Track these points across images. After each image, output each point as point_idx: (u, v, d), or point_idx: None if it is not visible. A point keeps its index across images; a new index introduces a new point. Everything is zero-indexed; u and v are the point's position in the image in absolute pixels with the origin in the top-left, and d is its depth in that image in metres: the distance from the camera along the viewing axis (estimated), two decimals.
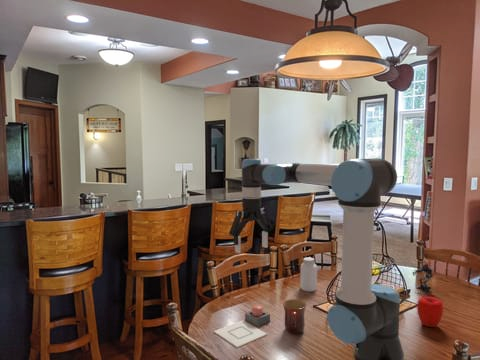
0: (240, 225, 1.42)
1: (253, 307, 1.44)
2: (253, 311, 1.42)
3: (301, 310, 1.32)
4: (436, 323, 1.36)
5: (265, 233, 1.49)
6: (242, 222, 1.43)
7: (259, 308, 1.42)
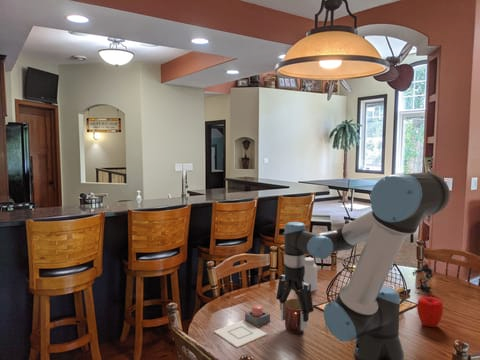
0: None
1: (253, 307, 1.44)
2: (253, 311, 1.42)
3: None
4: (436, 323, 1.36)
5: None
6: None
7: (259, 308, 1.42)
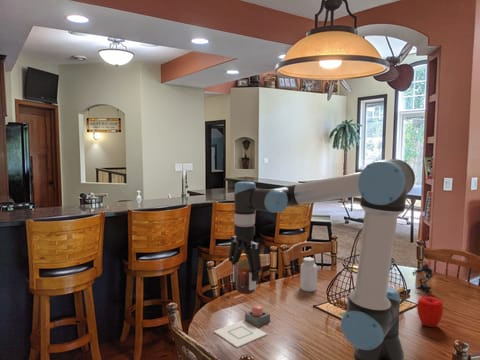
0: None
1: (253, 307, 1.44)
2: (253, 311, 1.42)
3: None
4: (436, 323, 1.36)
5: None
6: None
7: (259, 308, 1.42)
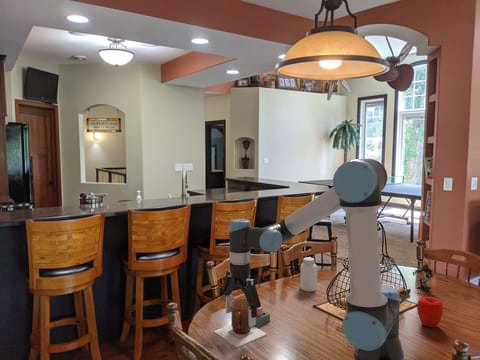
0: None
1: None
2: None
3: (246, 310, 1.31)
4: (436, 323, 1.36)
5: None
6: None
7: (259, 308, 1.42)
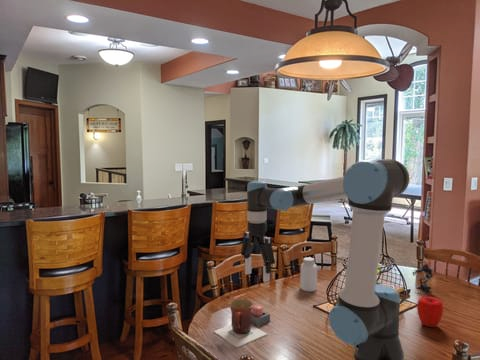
0: None
1: (253, 307, 1.44)
2: (253, 311, 1.42)
3: (246, 310, 1.31)
4: (436, 323, 1.36)
5: None
6: None
7: (259, 308, 1.42)
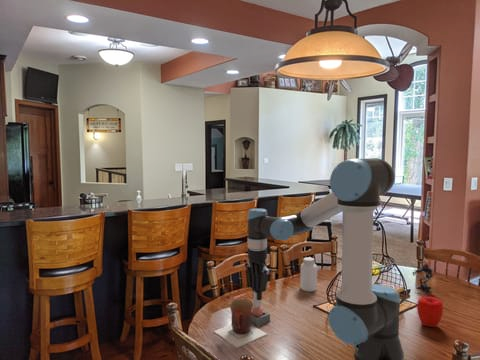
0: None
1: (253, 307, 1.44)
2: (253, 311, 1.42)
3: (246, 310, 1.31)
4: (436, 323, 1.36)
5: None
6: None
7: (259, 308, 1.42)
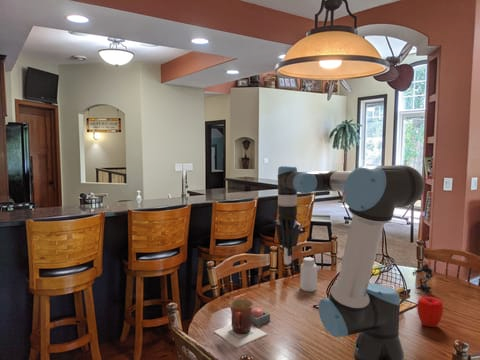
0: None
1: (253, 310, 1.44)
2: (253, 314, 1.42)
3: (246, 310, 1.31)
4: (436, 323, 1.36)
5: None
6: None
7: (259, 311, 1.43)
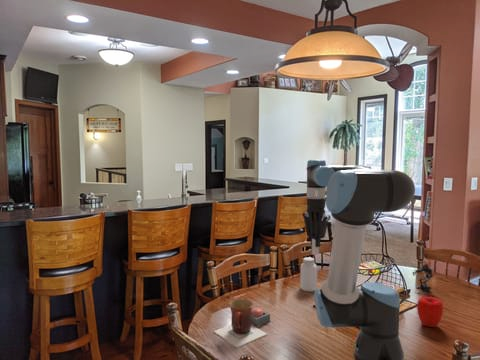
0: None
1: (253, 310, 1.44)
2: (253, 314, 1.42)
3: (246, 310, 1.31)
4: (436, 323, 1.36)
5: None
6: None
7: (259, 311, 1.43)
